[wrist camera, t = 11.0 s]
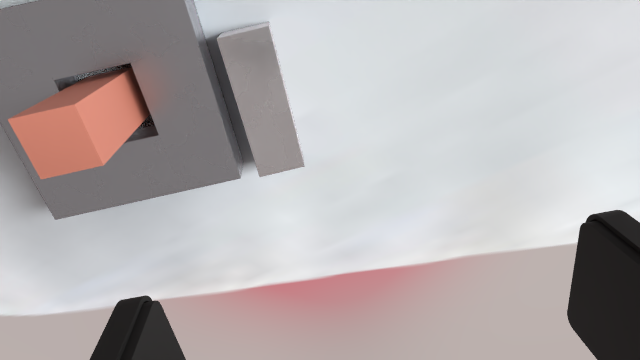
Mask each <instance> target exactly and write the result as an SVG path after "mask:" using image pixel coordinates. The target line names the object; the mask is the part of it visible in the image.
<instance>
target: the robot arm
mask: <svg viewBox="0 0 640 360" xmlns="http://www.w3.org/2000/svg"><path fill="white" fill-rule="evenodd" d="M567 315H568V320H569V323H570V325H571V327H572V328H573V330H574V331H575V332H576V333H577V334H578V336H579V337H580V338H581V340H582V341H583V342H584V343H585V345H586V346H587V347H588V348H589V350H590V351H591V352H592V353H593V355H594V356H595V357H596V359H597V360H640V223H639V222H638V221H637V220H635V219H634V218H632V217H631V216H630V215H628V214H627V213H625V212H623V211H621V210H614V211H609V212H603V213H598V214H593V215H590V216H589V217H588V218H587V220H586V223H583V224H582V225H581V227H580V232H579V238H578V245H577V252H576V258H575V264H574V271H573V278H572V284H571V291H570V297H569V304H568V311H567ZM90 360H186V359H185V357H184V355H183V352H182V350H181V348H180V346H179V343H178V341H177V339H176V337H175V335H174V333H173V330H172V328H171V326H170V324H169V321H168V319H167V317H166V315H165V313H164V310H163V308H162V306H161V304H160V302H158V301H152V299H151V298H150V297H149V296H141V297H135V298H130V299H124V300H121V301H119V302H118V303H117V305H116V306H115V308H114V310H113V312H112V315H111V317H110V319H109V321H108V323H107V325H106V327H105V329H104V331H103V333H102V335H101V337H100V339H99V342H98V344H97V346H96V348H95V350H94V352H93V354H92V356H91V358H90Z"/></svg>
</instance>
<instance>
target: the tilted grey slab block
mask: <svg viewBox="0 0 640 360" xmlns="http://www.w3.org/2000/svg"><path fill="white" fill-rule="evenodd" d="M217 42H218V45H219V48H220V52H221V55H222V58H223V61H224V64H225V68H226V71H227V74H228V77H229V80H230V84H231V87H232V90H233V93H234V96H235V100H236V103H237V106H238V109H239V112H240V116H241V119H242V122H243V125H244V128H245V132H246V135H247V138H248V141H249V144H250V148H251V151H252V154H253V157H254V160H255V164H256V167H257V170H258V173H259V176H260V177H262V176H266V175H270V174H275V173H279V172H283V171H287V170H291V169H295V168H300V167H304V160H303V154H302V149H301V145H300V141H299V137H298V133H297V129H296V125H295V121H294V117H293V113H292V110H291V106H290V102H289V98H288V94H287V90H286V86H285V82H284V78H283V74H282V70H281V66H280V62H279V58H278V54H277V50H276V46H275V43H274V39H273V35H272V31H271V27H270V23H269V22H265V23H260V24H256V25H252V26H248V27H244V28H240V29H236V30H231V31H227V32H223V33H221V34H220V35H219V36H218V37H217Z"/></svg>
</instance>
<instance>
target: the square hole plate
mask: <svg viewBox="0 0 640 360" xmlns="http://www.w3.org/2000/svg"><path fill="white" fill-rule="evenodd" d="M128 63H131V66H132V68H133V71H134V73H135V76H136V78H137V81H138V84H139V86H140V89H141V91H142V94H143V96H144V99H145V101H146V104H147V106H148V109H149V111H150V114H151V116H152V119H153V122H154V124H155V125H153V126H148V127H144V128H139V129H136V130H135V131H134V132H133V133H132V135H131V136H130V137H129V138H128V139H127V140H126V141H125V142H124V143H123V145H122V146H121V147H120V148H119V149H118V150H117V151H116V152H115V153H114V154H113V156H112V157H111V158H110V159H109V160H108V161H107V162H106V163H105V164H104V166H99V167H95V168H90V169H86V170H81V171H77V172H72V173H68V174H63V175H59V176H55V177H50V178H46V179H40V177H39V175H38V173H37V171H36V170H35V168H34V166H33V164H32V162H31V161H30V159H29V157H28V155H27V153H26V152H25V150H24V148H23V146H22V145H21V143H20V141H19V139H18V137H17V136H16V134H15V132H14V130H13V128H12V127H11V125H10V123H9V121H8V119H9V118H11V117H13V116H15V115H17V114H19V113H21V112H22V111H24V110H26V109H28V108H30V107H32V106H34V105H36V104H37V103H39V102H41V101H43V100H45V99H47V98H49V97H50V96H52V95H54V94H56V93H58V92H60V91H62V90H64V89H65V88H67V87H69V86H71V85H73V84H75V83H77V82H79V81H78V79H77V77H76V75H79V74H83V73H88V72H92V71H97V70H101V69H106V68H110V67H114V66H119V65H123V64H128ZM0 123H1V125H2V127H3V129H4V130H5V132H6V134H7V136H8V137H9V139H10V141H11V143H12V144H13V146H14V148H15V150H16V151H17V153H18V155H19V157H20V159H21V160H22V162H23V164H24V166H25V167H26V169H27V171H28V173H29V174H30V176H31V178H32V180H33V181H34V183H35V185H36V187H37V189H38V190H39V192H40V194H41V196H42V197H43V199H44V201H45V203H46V204H47V206H48V208H49V210H50V211H51V213H52V215H53V217H54V219H55V220H57V219H61V218H66V217H70V216H75V215H79V214H83V213H88V212H92V211H97V210H101V209H106V208H110V207H115V206H119V205H124V204H128V203H133V202H137V201H141V200H146V199H150V198H155V197H159V196H164V195H168V194H173V193H177V192H182V191H186V190H191V189H195V188H200V187H204V186H208V185H213V184H217V183H222V182H226V181H231V180H235V179H240V178H241V174H242V168H243V159H242V156H241V153H240V150H239V146H238V143H237V140H236V137H235V133H234V130H233V127H232V124H231V120H230V117H229V114H228V111H227V107H226V104H225V101H224V98H223V95H222V91H221V88H220V85H219V82H218V78H217V75H216V72H215V69H214V65H213V62H212V59H211V56H210V52H209V49H208V46H207V43H206V39H205V36H204V33H203V30H202V26H201V23H200V20H199V17H198V13H197V10H196V7H195V4H194V0H39V1H35V2H30V3H26V4H21V5H17V6H12V7H8V8H4V9H0Z"/></svg>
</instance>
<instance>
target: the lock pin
mask: <svg viewBox="0 0 640 360" xmlns="http://www.w3.org/2000/svg"><path fill="white" fill-rule="evenodd" d="M149 115H150V111H149V109H148V106H147V104H146V101H145V99H144V96H143V94H142V91H141V89H140V86H139V84H138V81H137V78H136V76H135V73H134V71H133V68H132V67H129V68H124V69H120V70H115V71H111V72H106V73H102V74H98V75H93V76H89V77H86V78H84V79H82V80H80V81H79V82H77V83H75V84H73V85H71V86H69V87H67V88H65V89H64V90H62V91H60V92H58V93H56V94H54V95H52V96H50V97H49V98H47V99H45V100H43V101H41V102H39V103H37V104H36V105H34V106H32V107H30V108H28V109H26V110H24V111H22V112H21V113H19V114H17V115H15V116H13V117H11V118H9V119H8V121H9V123H10V125H11V127H12V128H13V130H14V132H15V134H16V136H17V137H18V139H19V141H20V143H21V145H22V146H23V148H24V150H25V152H26V153H27V155H28V157H29V159H30V161H31V162H32V164H33V166H34V168H35V170H36V171H37V173H38V175H39V177H40V179H46V178H50V177H55V176H59V175H63V174H68V173H72V172H77V171H81V170H86V169H90V168H95V167H99V166H104V164H105V163H106V162H107V161H108V160H109V159H110V158H111V157H112V156H113V154H114V153H115V152H116V151H117V150H118V149H119V148H120V147H121V146H122V145H123V143H124V142H125V141H126V140H127V139H128V138H129V137H130V136H131V135H132V133H133V132H134V131H135V130H136V129H137V128H138V127H139V126H140V125H141V124H142V122H143V121H144V120H145V119H146V118H147V117H148V116H149Z"/></svg>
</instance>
